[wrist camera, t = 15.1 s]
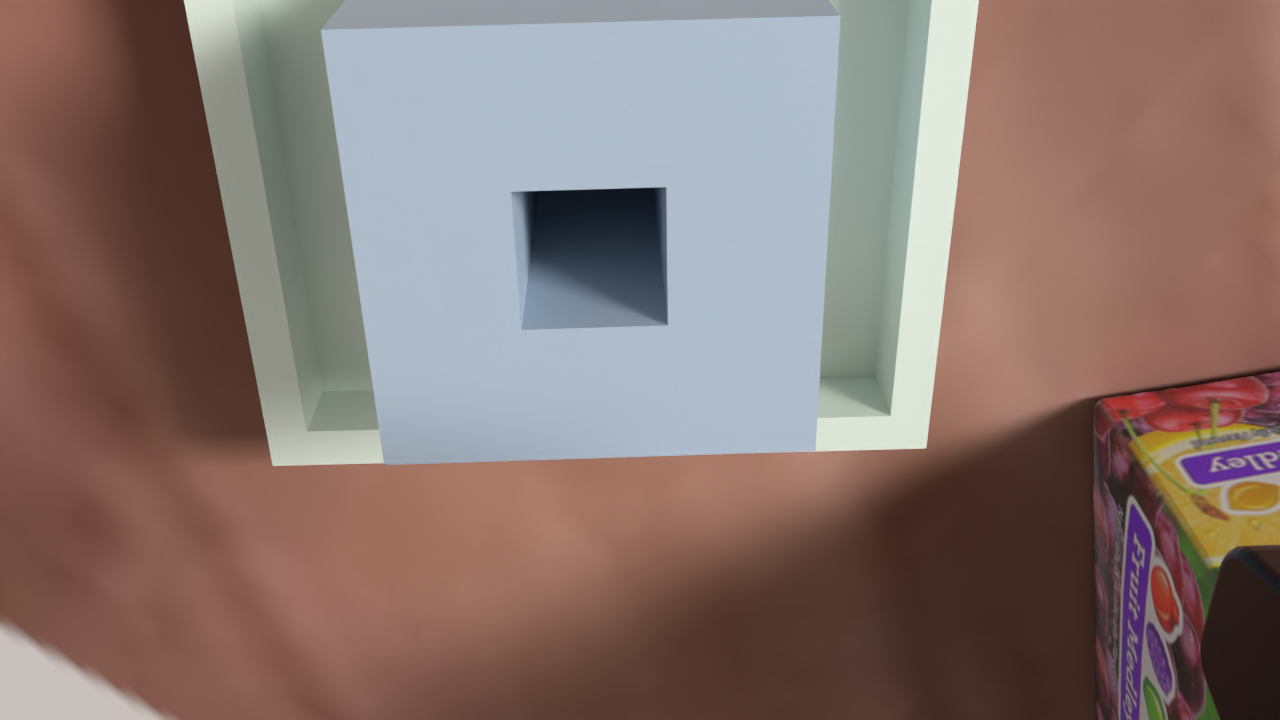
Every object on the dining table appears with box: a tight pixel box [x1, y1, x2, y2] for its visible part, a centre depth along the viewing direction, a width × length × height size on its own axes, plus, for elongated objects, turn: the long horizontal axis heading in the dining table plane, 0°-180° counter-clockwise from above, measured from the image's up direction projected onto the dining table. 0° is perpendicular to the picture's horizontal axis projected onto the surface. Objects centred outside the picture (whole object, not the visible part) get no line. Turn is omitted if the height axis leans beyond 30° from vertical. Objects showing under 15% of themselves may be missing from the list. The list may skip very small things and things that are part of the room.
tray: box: [184, 0, 979, 466], centre depth 17 cm, size 10×10×2 cm
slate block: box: [321, 0, 841, 465], centre depth 15 cm, size 5×5×5 cm
